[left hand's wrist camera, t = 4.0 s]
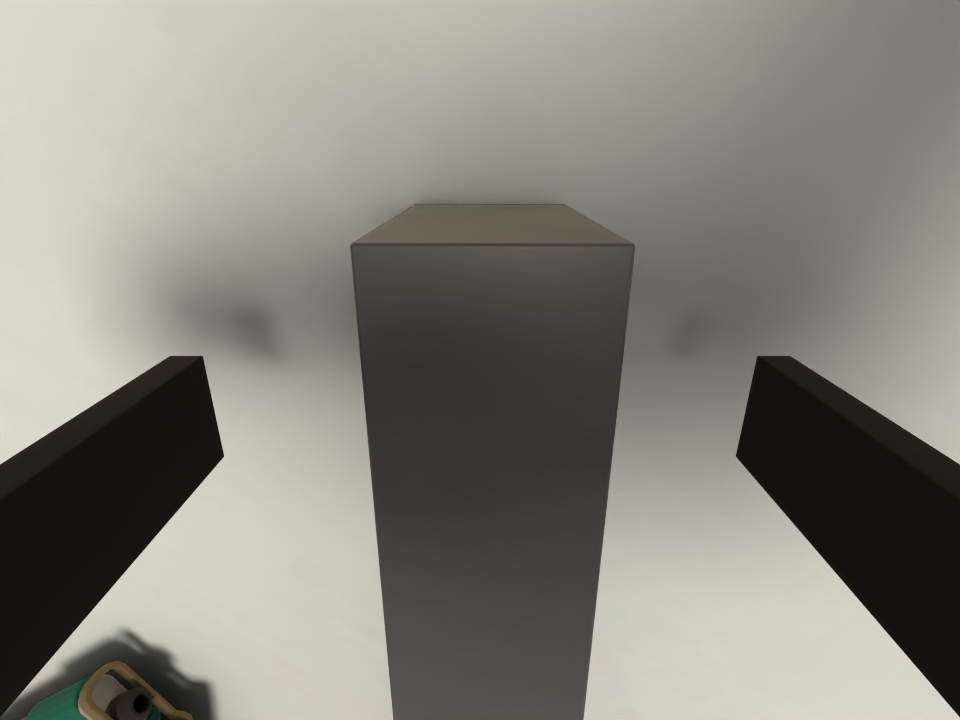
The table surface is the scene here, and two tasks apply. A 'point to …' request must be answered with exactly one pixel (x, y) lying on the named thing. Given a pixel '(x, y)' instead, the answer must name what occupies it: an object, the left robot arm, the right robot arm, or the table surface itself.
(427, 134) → the table surface
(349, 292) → the table surface
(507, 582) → the beam
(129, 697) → the spray gun
